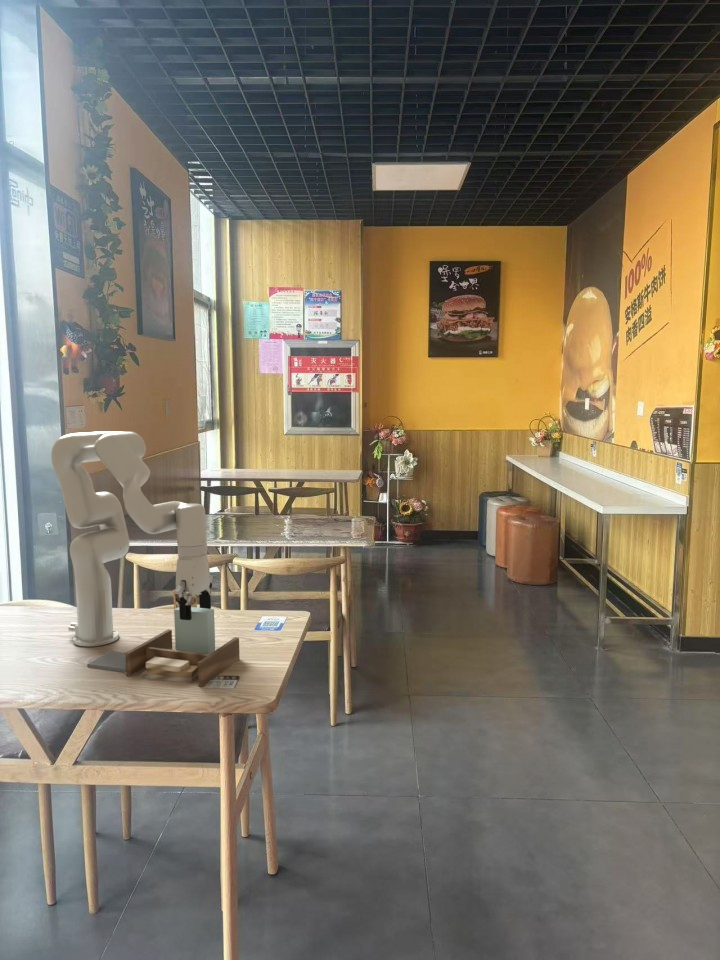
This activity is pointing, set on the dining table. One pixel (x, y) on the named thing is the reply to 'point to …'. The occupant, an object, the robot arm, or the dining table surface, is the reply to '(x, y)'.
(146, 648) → the rack
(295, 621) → the dining table surface
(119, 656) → the rubber mat
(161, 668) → the offcut stack
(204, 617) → the pale mint block
